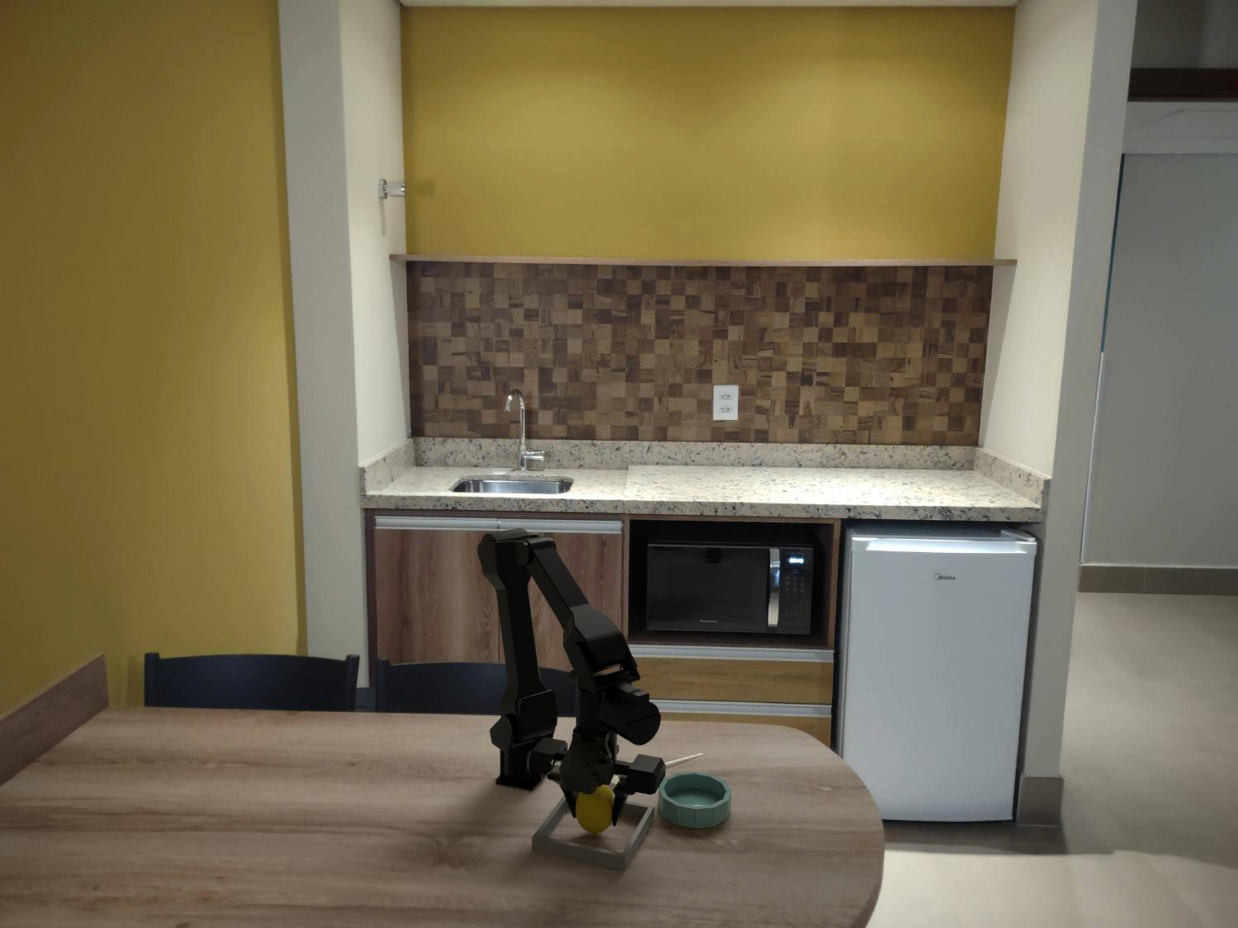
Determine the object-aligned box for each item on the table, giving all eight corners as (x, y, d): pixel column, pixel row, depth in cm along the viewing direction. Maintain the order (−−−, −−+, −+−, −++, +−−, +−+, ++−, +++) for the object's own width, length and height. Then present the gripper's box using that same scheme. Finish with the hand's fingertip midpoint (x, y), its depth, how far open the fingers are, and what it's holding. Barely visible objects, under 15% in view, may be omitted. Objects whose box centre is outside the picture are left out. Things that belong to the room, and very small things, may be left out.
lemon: (610, 847, 127) (611, 793, 125) (571, 842, 128) (571, 789, 126) (618, 825, 132) (619, 774, 131) (580, 820, 133) (581, 769, 132)
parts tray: (531, 850, 126) (531, 836, 125) (568, 801, 138) (568, 789, 138) (625, 870, 122) (625, 857, 121) (654, 818, 134) (654, 805, 134)
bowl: (650, 819, 134) (651, 800, 133) (669, 784, 144) (670, 766, 143) (721, 833, 131) (721, 813, 130) (735, 797, 140) (736, 778, 140)
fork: (709, 761, 153) (710, 751, 152) (610, 793, 141) (610, 782, 141) (697, 753, 155) (697, 743, 155) (598, 784, 144) (598, 773, 144)
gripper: (509, 730, 122) (510, 838, 125) (644, 754, 116) (641, 867, 119) (543, 697, 133) (542, 797, 135) (668, 718, 127) (665, 822, 130)
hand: (595, 820), depth 130 cm, fingers closed on lemon, 5 cm apart
